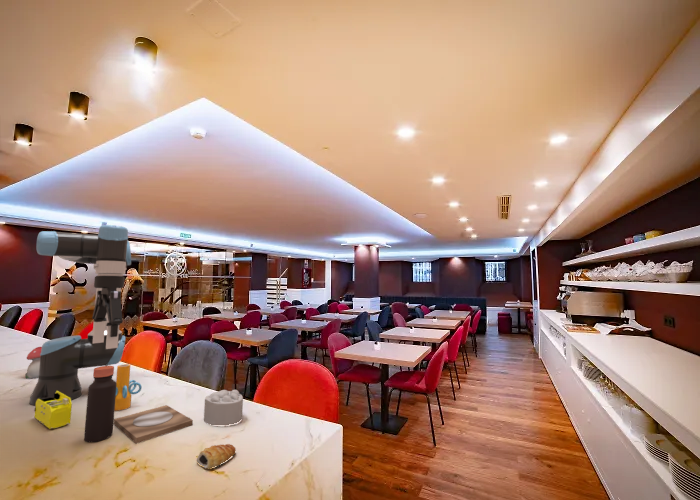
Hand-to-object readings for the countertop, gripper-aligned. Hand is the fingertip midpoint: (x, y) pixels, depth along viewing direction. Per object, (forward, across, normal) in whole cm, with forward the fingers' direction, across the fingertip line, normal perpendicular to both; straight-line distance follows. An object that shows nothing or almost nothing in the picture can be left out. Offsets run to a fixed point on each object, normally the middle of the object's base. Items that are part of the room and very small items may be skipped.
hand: (104, 345), depth 99 cm
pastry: (+27, +38, +16) cm, 50 cm away
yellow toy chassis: (+27, -24, -6) cm, 37 cm away
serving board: (+26, +3, +14) cm, 30 cm away
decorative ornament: (+26, -97, -1) cm, 101 cm away
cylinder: (+27, -21, +12) cm, 36 cm away
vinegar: (+27, 0, 0) cm, 27 cm away
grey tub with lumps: (+27, +17, +31) cm, 44 cm away
